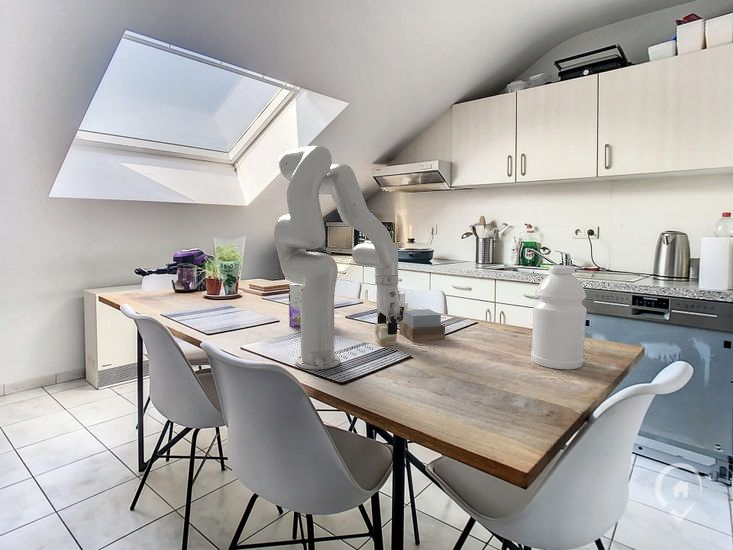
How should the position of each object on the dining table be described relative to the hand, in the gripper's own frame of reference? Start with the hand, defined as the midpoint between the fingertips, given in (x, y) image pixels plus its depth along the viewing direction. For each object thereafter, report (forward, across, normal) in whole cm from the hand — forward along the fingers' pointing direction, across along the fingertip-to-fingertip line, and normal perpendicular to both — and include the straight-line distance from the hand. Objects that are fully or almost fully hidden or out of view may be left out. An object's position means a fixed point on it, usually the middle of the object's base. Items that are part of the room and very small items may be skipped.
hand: (387, 330), depth 148 cm
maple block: (+4, 0, +1) cm, 4 cm away
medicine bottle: (+5, +29, -15) cm, 33 cm away
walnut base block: (+5, +4, -14) cm, 16 cm away
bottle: (+5, -34, -39) cm, 52 cm away
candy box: (+4, +32, +21) cm, 38 cm away
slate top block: (0, +4, -14) cm, 15 cm away
